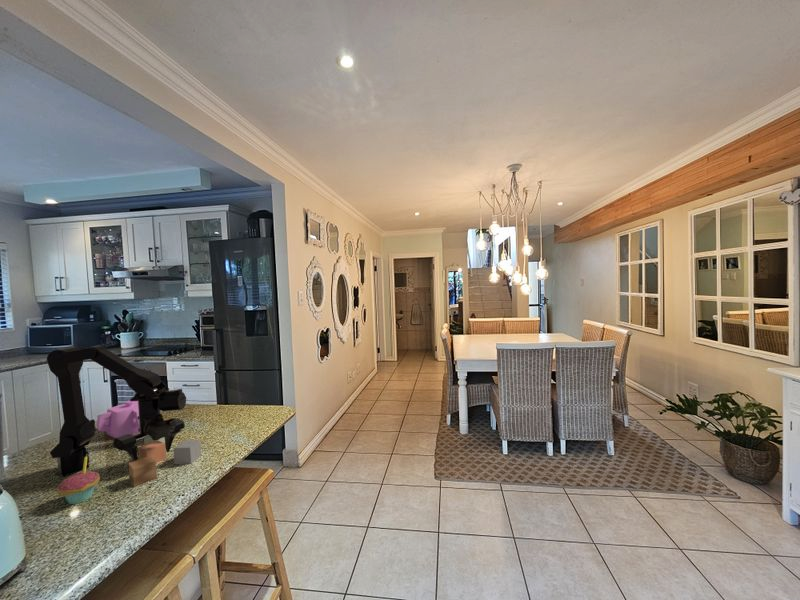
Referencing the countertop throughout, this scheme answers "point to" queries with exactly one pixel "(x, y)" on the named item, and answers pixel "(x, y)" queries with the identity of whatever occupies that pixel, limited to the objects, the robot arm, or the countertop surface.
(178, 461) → the slate block
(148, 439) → the sage block
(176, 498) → the countertop surface
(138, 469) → the walnut block
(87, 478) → the cupcake
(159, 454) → the terracotta block
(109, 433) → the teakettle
